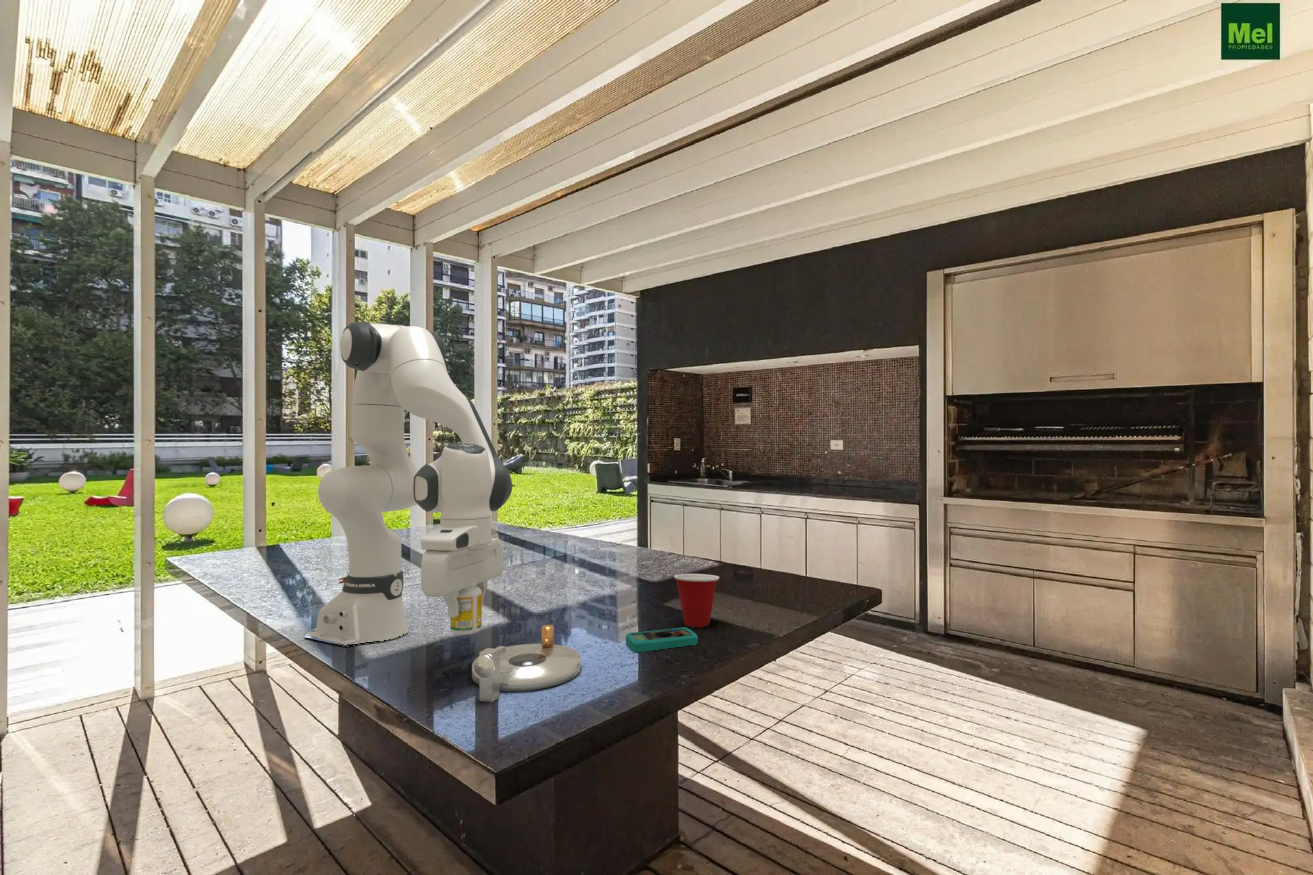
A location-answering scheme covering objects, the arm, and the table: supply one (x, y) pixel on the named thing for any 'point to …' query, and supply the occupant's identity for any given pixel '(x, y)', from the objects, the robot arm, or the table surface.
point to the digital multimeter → (660, 639)
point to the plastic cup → (696, 597)
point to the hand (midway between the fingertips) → (466, 611)
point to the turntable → (536, 664)
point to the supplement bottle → (468, 611)
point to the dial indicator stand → (489, 672)
